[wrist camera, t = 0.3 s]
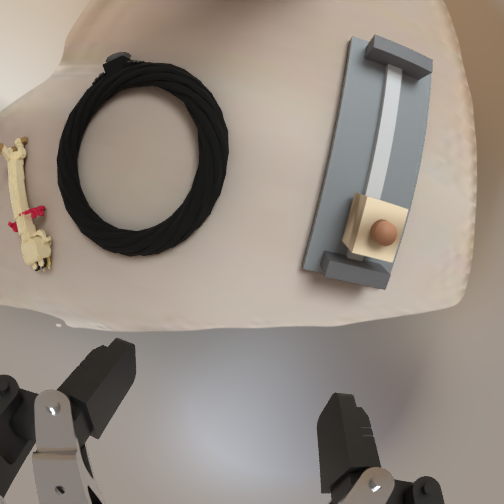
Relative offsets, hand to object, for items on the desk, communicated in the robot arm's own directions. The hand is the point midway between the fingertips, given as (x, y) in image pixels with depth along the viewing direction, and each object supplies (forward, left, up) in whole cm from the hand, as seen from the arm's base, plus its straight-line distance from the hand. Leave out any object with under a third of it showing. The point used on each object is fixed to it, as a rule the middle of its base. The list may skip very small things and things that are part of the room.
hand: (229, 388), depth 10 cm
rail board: (-13, +12, -27) cm, 32 cm away
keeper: (-5, +12, -25) cm, 27 cm away
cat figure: (+3, -42, -28) cm, 51 cm away
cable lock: (-8, -20, -28) cm, 35 cm away
